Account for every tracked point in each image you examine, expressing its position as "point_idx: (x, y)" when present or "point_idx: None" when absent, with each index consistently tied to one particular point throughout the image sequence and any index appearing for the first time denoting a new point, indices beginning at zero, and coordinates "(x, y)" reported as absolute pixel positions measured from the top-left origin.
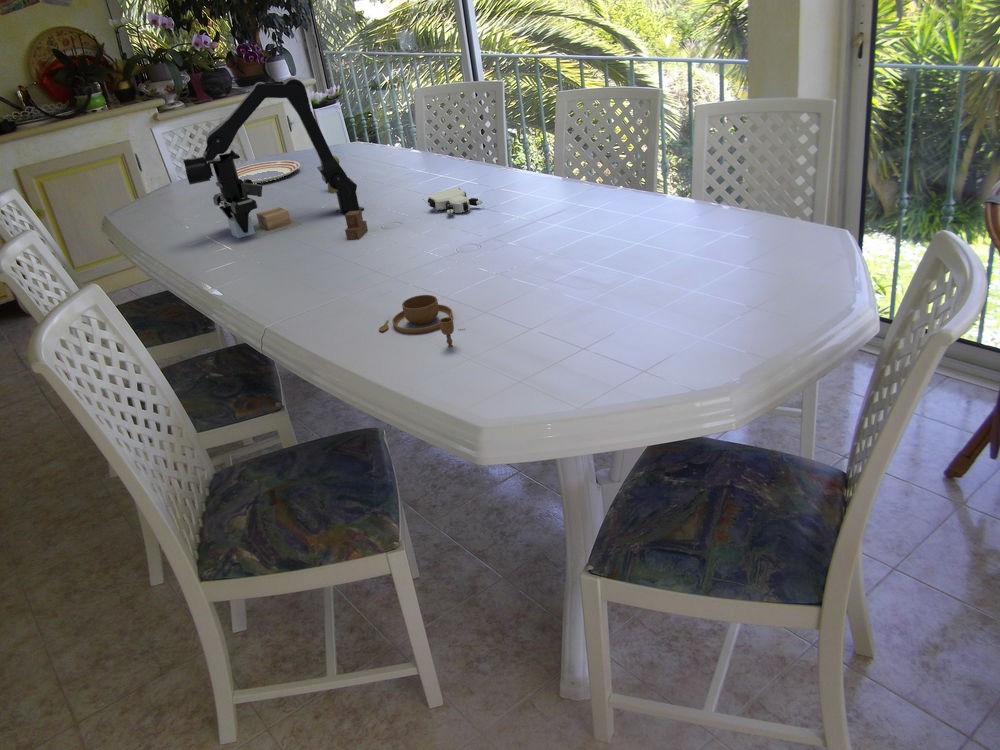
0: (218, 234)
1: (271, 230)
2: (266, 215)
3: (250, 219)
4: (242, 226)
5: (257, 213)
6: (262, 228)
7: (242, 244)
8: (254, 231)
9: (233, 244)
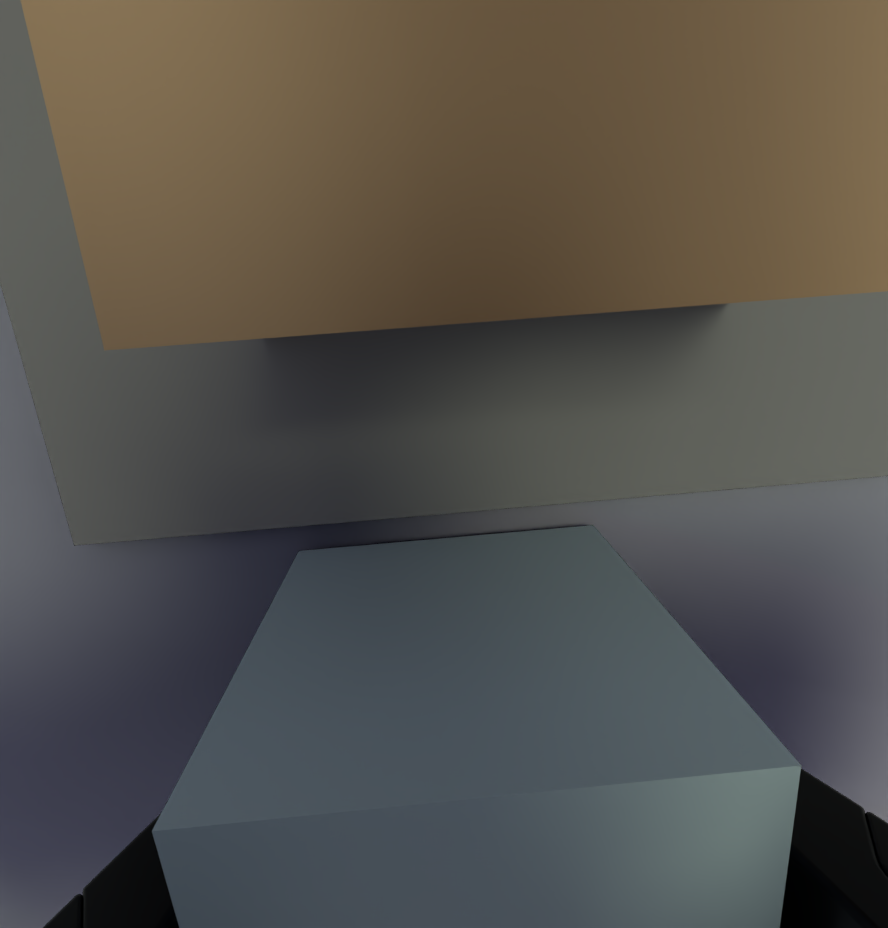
0: (45, 889)
1: None
2: (850, 155)
3: (744, 718)
4: None
5: (153, 312)
6: (445, 341)
7: (881, 777)
8: (604, 541)
9: None
